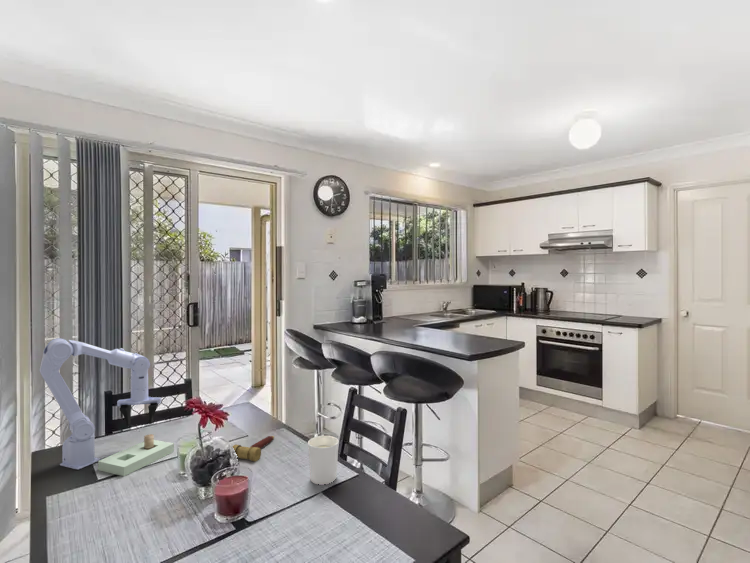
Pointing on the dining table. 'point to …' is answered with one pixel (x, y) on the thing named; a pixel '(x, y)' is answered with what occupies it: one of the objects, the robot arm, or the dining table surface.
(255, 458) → the gavel
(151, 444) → the maple peg
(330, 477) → the candle holder
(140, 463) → the hole board
